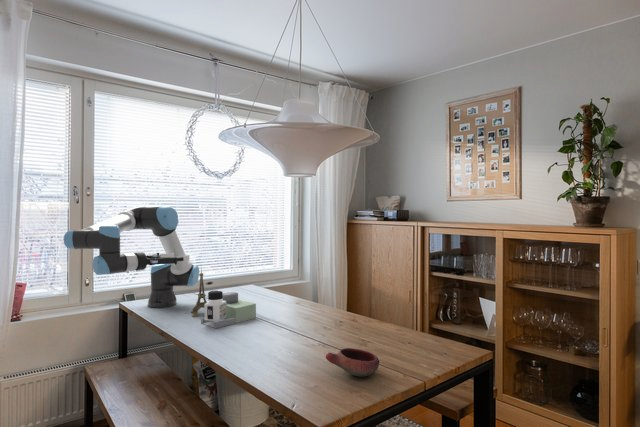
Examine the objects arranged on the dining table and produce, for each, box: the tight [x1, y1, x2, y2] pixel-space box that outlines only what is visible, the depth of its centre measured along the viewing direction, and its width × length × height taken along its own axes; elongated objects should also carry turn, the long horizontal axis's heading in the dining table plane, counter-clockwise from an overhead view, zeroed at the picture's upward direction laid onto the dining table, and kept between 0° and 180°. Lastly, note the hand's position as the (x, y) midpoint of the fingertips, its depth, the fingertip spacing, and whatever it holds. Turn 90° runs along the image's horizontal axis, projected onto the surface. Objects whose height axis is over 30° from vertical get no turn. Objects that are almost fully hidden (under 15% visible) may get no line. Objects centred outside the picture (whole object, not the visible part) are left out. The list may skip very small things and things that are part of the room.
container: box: [203, 289, 227, 321], centre depth 193 cm, size 8×8×13 cm
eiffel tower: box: [190, 267, 208, 318], centre depth 212 cm, size 11×11×25 cm
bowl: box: [325, 347, 380, 378], centre depth 133 cm, size 16×13×8 cm
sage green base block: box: [200, 291, 257, 329], centre depth 201 cm, size 20×23×11 cm
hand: (181, 256), depth 189 cm, fingers open, 13 cm apart
